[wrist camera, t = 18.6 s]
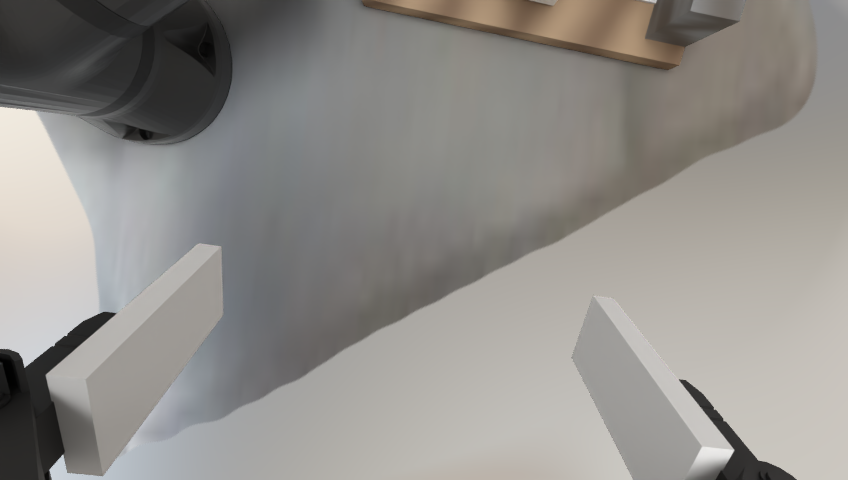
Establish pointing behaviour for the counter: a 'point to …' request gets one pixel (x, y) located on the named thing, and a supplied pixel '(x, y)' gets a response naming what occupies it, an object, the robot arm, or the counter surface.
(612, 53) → the mounting board
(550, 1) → the block
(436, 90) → the counter surface
